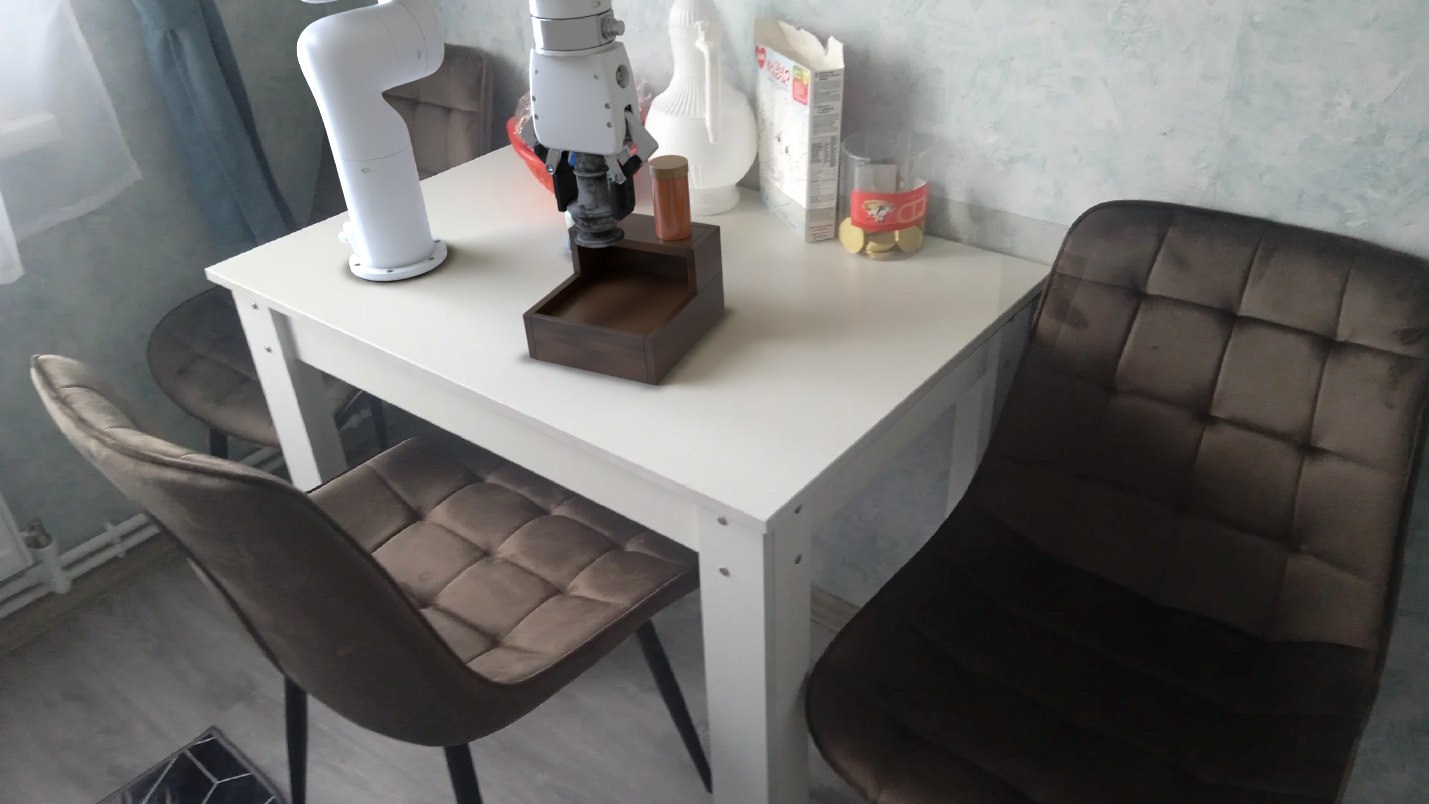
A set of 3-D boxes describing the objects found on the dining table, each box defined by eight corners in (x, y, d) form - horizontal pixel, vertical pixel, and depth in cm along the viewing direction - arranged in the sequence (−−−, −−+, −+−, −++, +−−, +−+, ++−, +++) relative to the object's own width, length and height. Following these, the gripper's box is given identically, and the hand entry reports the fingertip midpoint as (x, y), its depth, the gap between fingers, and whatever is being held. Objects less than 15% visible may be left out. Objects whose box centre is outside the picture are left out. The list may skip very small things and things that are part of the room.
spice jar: (648, 238, 113) (641, 166, 109) (666, 223, 117) (660, 152, 112) (682, 243, 112) (676, 170, 107) (699, 228, 115) (694, 156, 110)
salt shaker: (619, 250, 105) (605, 134, 98) (563, 248, 106) (547, 133, 99) (634, 226, 110) (622, 114, 103) (581, 224, 111) (566, 114, 104)
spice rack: (529, 357, 115) (514, 268, 109) (607, 290, 127) (597, 207, 121) (656, 385, 109) (647, 292, 103) (724, 312, 121) (720, 225, 115)
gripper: (674, 25, 96) (687, 208, 106) (520, 15, 102) (546, 188, 112) (634, 46, 90) (652, 237, 100) (474, 35, 97) (506, 214, 107)
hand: (596, 209), depth 106 cm, fingers closed on salt shaker, 5 cm apart
